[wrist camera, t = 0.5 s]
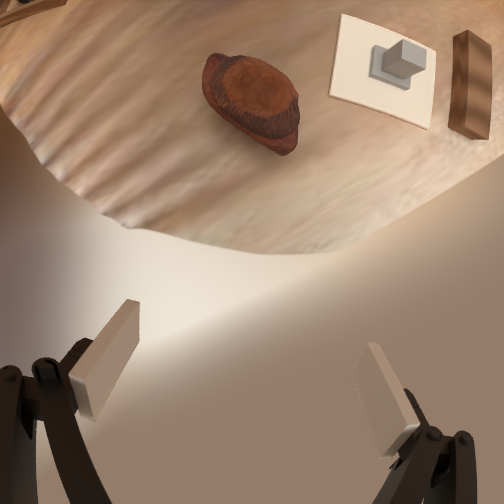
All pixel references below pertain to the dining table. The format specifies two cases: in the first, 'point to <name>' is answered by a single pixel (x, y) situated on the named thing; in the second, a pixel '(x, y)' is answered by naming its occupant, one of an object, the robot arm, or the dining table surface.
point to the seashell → (25, 1)
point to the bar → (471, 86)
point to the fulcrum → (383, 71)
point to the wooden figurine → (253, 99)
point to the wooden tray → (25, 9)
